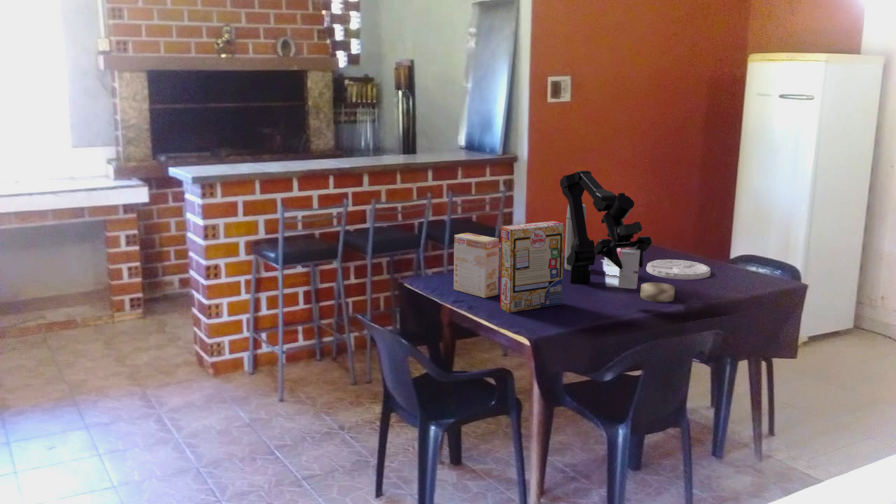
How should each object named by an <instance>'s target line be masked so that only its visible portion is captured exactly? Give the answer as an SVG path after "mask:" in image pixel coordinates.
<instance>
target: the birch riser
mask: <svg viewBox="0 0 896 504" xmlns="http://www.w3.org/2000/svg"><path fill="white" fill-rule="evenodd" d="M639 294H640V298H641V299H642V300H645V301H646V302H647V301H648V302H652V301H653V303H668V302H669V301H670V302H673V301H674V299H675V286H674V285H672V284H668V283H666V282H665V283H664V282H653V281H652V282H644V283H642V284H641V285H640V293H639Z"/></svg>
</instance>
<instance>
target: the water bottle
mask: <svg viewBox="0 0 896 504" xmlns="http://www.w3.org/2000/svg"><path fill="white" fill-rule="evenodd" d="M586 208H587V207H586V204H584V203H583V210H584V216H585V220H586V219H587V210H586ZM565 218H566V219H565V221H566V223H565V225H566V226H565V243H564V244H565V247H564V269H565V270H567V271H570V272H571V266H569V265H567V260H566V258H567V257H568V255H569V254H570V252H571V245H572V243H573V241H574V235H573V229H572V222H571V215H570V209H569V204H567V212H566V216H565Z"/></svg>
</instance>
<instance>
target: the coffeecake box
mask: <svg viewBox="0 0 896 504" xmlns="http://www.w3.org/2000/svg"><path fill="white" fill-rule="evenodd" d="M453 237H454V238H453V240H454V241H453V245H454V246H453V290H454V291H458V292H462V293H465V294H469V295H472V296H476V297H480V298H483V299H485V298H490V297H494V296H497V295H499V276H498V264H499V244H500V238H496V237H493V236H492V237H491V236H486V235H480V234H476V233H471V232H464V233H459V234H454V236H453Z"/></svg>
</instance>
